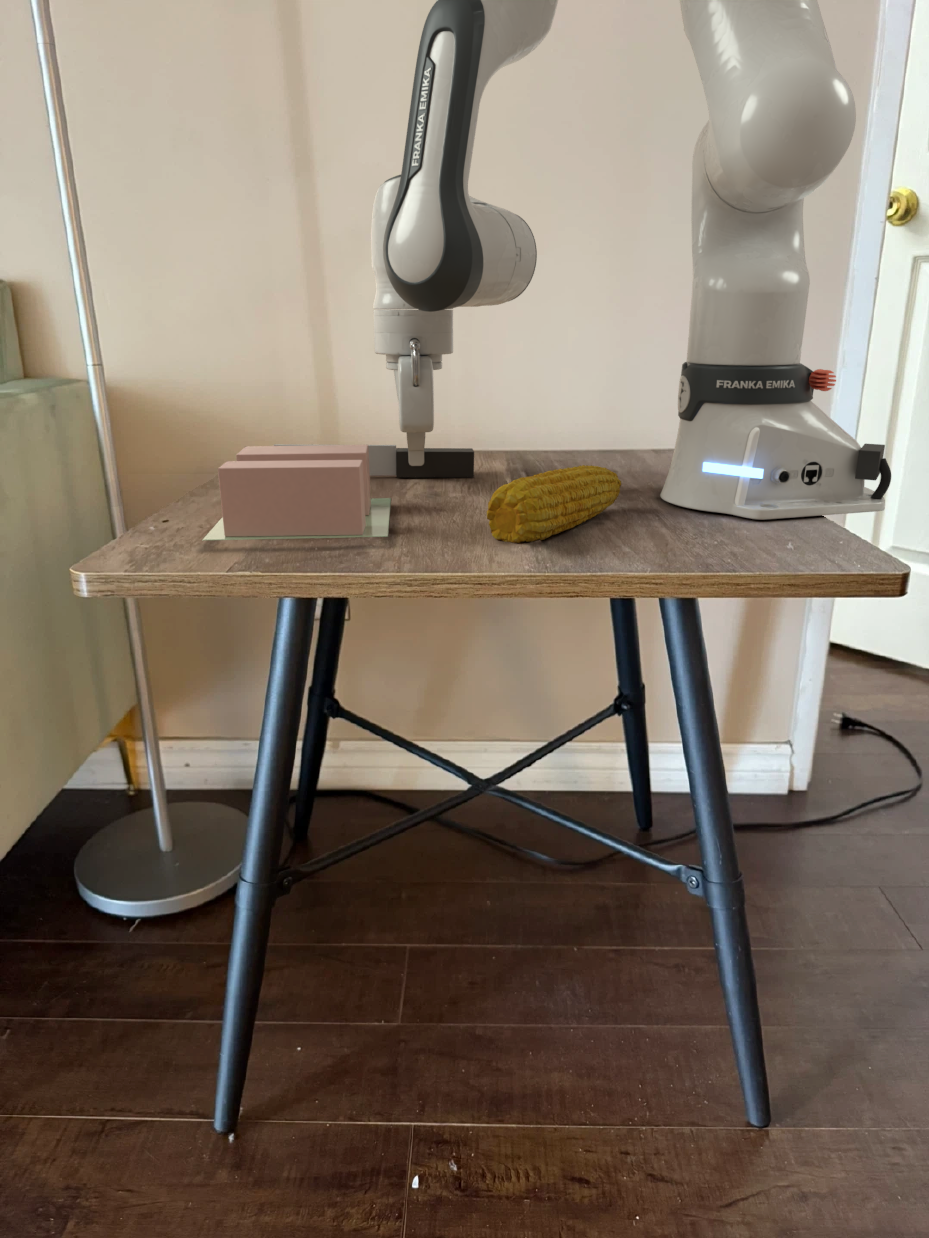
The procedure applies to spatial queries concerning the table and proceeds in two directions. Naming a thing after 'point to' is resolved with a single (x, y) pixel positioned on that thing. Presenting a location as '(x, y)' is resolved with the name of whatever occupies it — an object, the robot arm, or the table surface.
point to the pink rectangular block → (313, 457)
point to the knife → (435, 466)
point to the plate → (374, 528)
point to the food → (550, 502)
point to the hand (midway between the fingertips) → (416, 462)
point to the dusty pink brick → (292, 498)
